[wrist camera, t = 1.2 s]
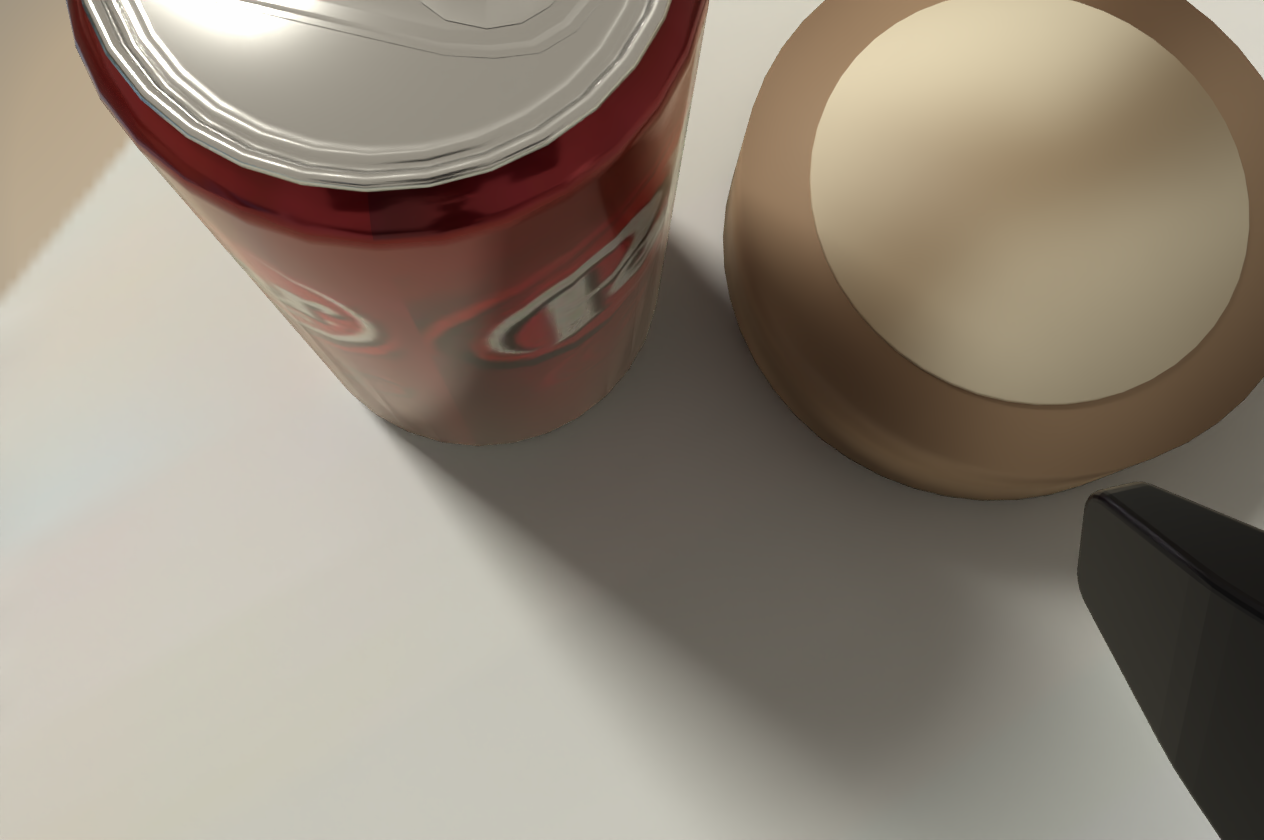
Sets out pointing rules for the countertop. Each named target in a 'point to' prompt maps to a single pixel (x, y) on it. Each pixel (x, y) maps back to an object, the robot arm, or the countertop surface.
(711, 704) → the countertop surface
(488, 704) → the countertop surface
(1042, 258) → the pedestal
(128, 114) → the soda can
